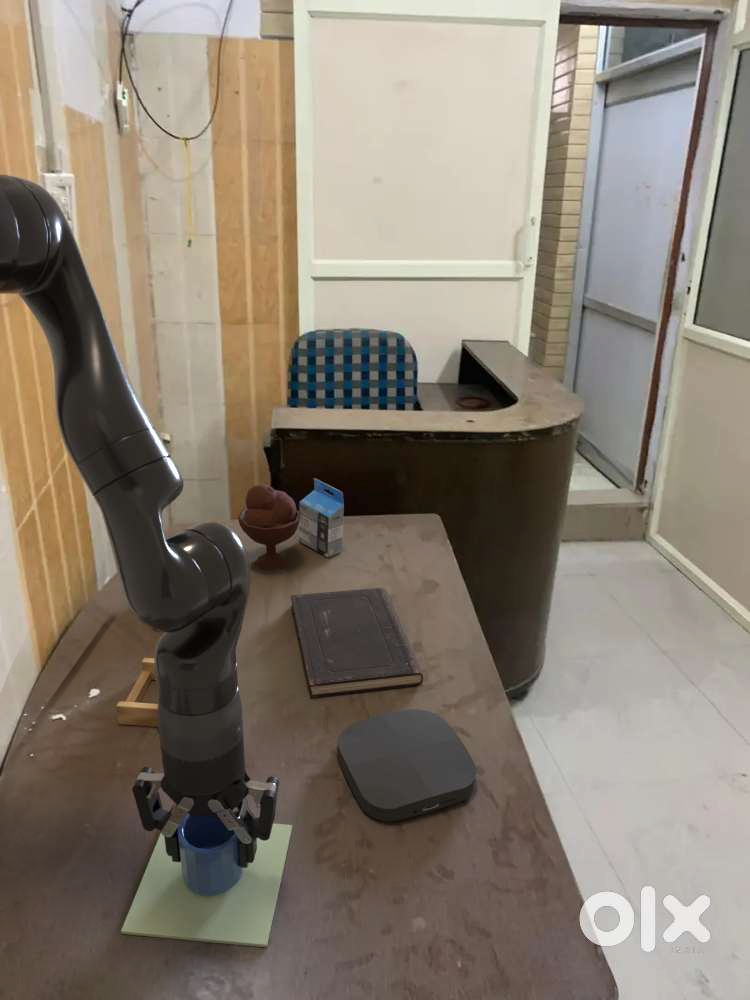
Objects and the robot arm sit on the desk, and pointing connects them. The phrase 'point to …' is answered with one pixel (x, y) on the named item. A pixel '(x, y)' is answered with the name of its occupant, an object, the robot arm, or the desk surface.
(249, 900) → the mat
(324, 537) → the label tape box
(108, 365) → the robot arm
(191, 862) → the small cup
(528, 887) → the desk surface
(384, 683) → the hardcover book
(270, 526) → the ice cream bowl
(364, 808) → the media streaming box
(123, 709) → the tray
